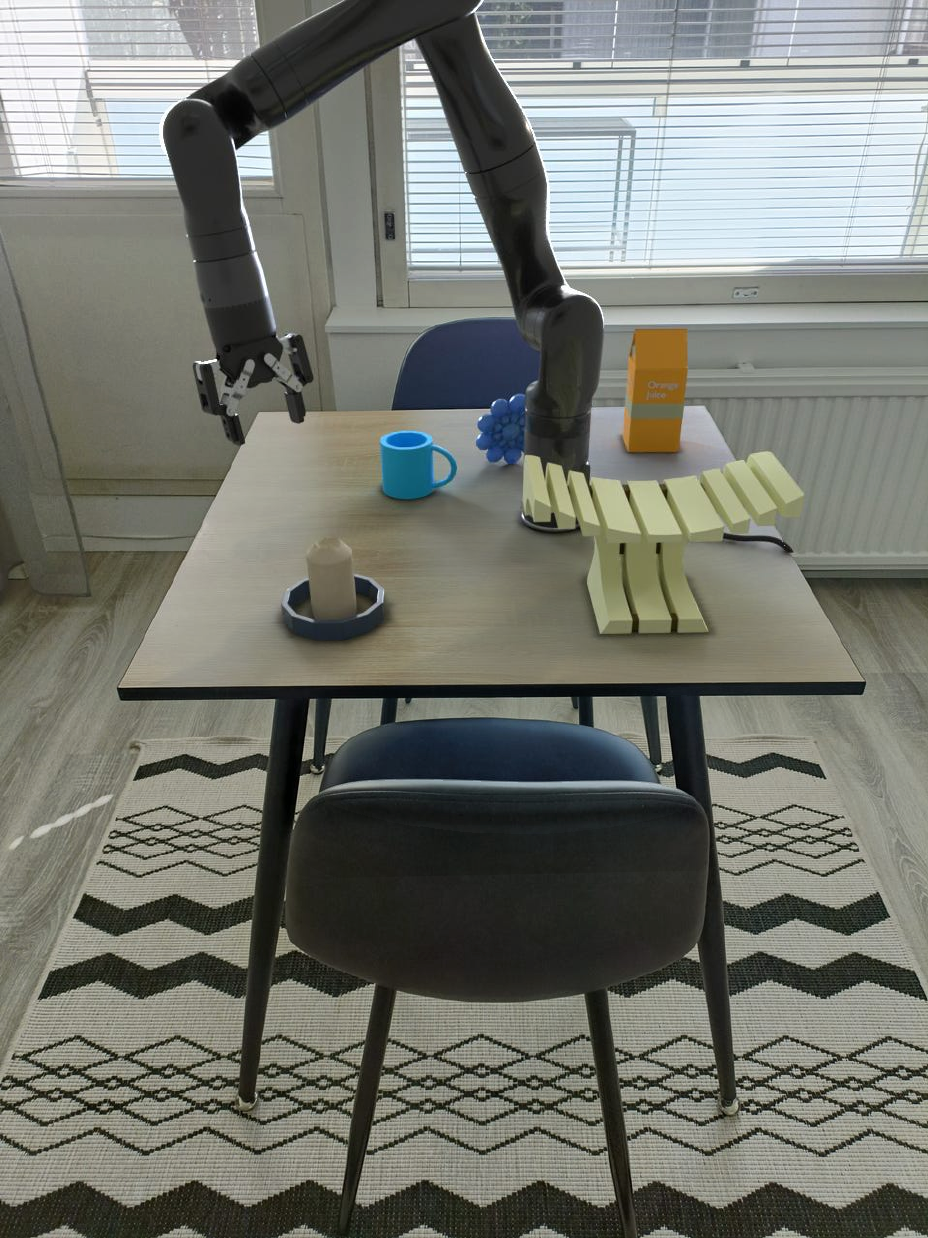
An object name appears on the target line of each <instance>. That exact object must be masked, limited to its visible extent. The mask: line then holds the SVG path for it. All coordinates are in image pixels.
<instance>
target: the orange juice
mask: <svg viewBox="0 0 928 1238" xmlns="http://www.w3.org/2000/svg"><path fill="white" fill-rule="evenodd" d="M688 361H689V359H688V328H635V329H634V333H633V337H632V342H631V346H630V350H629V355H628V362H627V363H628V364H627V377H626V387H625V399H624V412H623V413H624V415H623V425H622V426H623V427H622V439H623V441H624V444H625V445H624V446H625V448H626V451H627V453H673V452H674V453H679V451H680V442H681V434H682V424H683V417H684V409H685V399H686V388H687V382H688V381H687V379H688V374H689V373H688V372H689V366H688V363H689V362H688Z"/></svg>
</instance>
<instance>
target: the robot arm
mask: <svg viewBox="0 0 928 1238" xmlns="http://www.w3.org/2000/svg"><path fill="white" fill-rule="evenodd" d="M483 1H484V0H341V1H338V3H336V4H333V5H332V6H330V7H328V8H325V9H323V10H321V11H319V12H317V13H315V14H314V15H311V16H310V17H308V18H306V19H304V20H302V21H300V22H298V23H297V24H295V25H292V26H291V27H289V28H287V29H286V30H285V31H283V32H280V33H279V34H278V35H276V36H275V37H273V38H271V39H269V40H268V41H267V42H265V43H264V44H263V45H261V46H259V47H258V48H256V49H255V50H254V51H252V52H250V53H249V54H248V55H246V56H245V57H243V58H242V59H241V60H240V61H238V62H237V63H236V64H235V65H233V66H232V68H231V69H230V70H228V71H227V72H226V73H225V74H222V75H221V76H220V77H218V78H216V79H214V80H213V81H210V82H209V83H207V84H205V85H204V86H202V87H200V88H199V89H197V90H195V91H194V92H192V93H191V94H188V95H187V96H185V97H184V98H182V99H180V100H178V101H177V102H175V103H173V104H172V105H171V106H170V107H169V108H168V109H167V110H166V111H165V112H164V114H163V116H162V117H161V119H160V123H159V140H160V145H161V148H162V151H163V152H164V154H165V156H166V157H167V159H168V162H169V164H170V165H169V166H170V168H171V171H172V174H173V179H174V182H175V185H176V189H177V192H178V195H179V198H180V202H181V204H182V218H183V225H184V231H185V235H186V238H187V242H188V245H189V249H190V254H191V257H192V261H193V265H194V270H195V271H194V272H195V278H196V284H197V285H196V286H197V288H198V293H199V300H200V301H201V304H202V307H203V310H204V314H205V318H206V323H207V326H208V329H209V333H210V338H211V341H212V344H213V345H214V346H213V347H214V348H215V359H211V360H208V361H204V362H203V361H202V362H201V361H200V360H198V361H197V360H196V361H194V362H193V363H192V372H193V375H194V379H195V385H196V387H197V388H196V389H197V393H198V399H199V403H200V407H201V411H202V412H203V413H205V414H209V415H212V416H215V417H216V416H219V417H220V420H221V423H222V427H223V431H224V434H225V438H226V439H227V440H228V441H229V442H231V443H232V444H233V445H235V446H237V447H238V446H239V447H240V446H243V445H245V444H246V439H245V435H244V432H243V428H242V424H241V420H240V416H239V414H238V413H237V411H238V407H239V404H240V401H241V399H243V398H244V396H245V393H246V390H247V389H253V388H257V386H259V385H261V384H268V383H271V382H273V381H275V382H276V383H278V385H280V386H281V387H283V389H285V390H286V392H283V394H284V398H285V399H284V400H285V402H286V407H287V412H288V417H289V420H290V421H291V422H292V423H293V424H298V425H300V424H303V423H304V422H305V418H306V415H307V410H306V406H305V401H304V398H303V392H302V391H303V389H304V387H305V386H306V385H307V384H311V383H313V381H314V379H315V378H314V374H313V370H312V366H311V362H310V358H309V356H308V352H307V348H306V345H305V341H304V340H305V339H304V337H303V335H301V334H297V333H292V332H286V333H285V334H284V335H283V337H280V338H279V337H278V334H277V324H276V320H275V319H276V318H275V316H274V311H273V307H272V303H271V298H270V293H269V289H268V286H267V281H266V277H265V272H264V269H263V266H262V264H261V260H260V258H259V255H258V251H257V249H256V245H255V240H254V235H253V232H252V227H251V222H250V218H249V215H248V212H247V209H246V206H245V203H244V199H243V191H242V184H241V183H242V182H241V175H240V170H239V169H240V168H239V162H238V156H237V152H236V151H238V150H239V149H240V148H242V147H243V146H245V145H246V144H248V143H249V142H251V140H253V139H254V138H256V137H257V136H259V135H261V134H262V133H265V132H268V131H271V130H274V129H275V128H277V127H279V126H281V125H283V124H284V123H286V122H288V121H289V120H290V119H293V118H294V117H295V116H297V115H298V114H300V113H301V112H303V111H304V110H305V109H307V108H308V107H310V106H311V105H312V104H314V103H316V102H317V101H319V100H320V99H321V98H323V97H324V96H326V95H327V94H329V93H330V92H332V91H333V90H335V89H336V88H337V87H339V86H340V85H341V84H343V83H344V82H346V81H347V80H349V79H350V78H352V77H353V76H354V75H356V74H357V73H359V72H360V71H362V70H363V69H365V68H366V67H368V66H369V65H371V64H372V63H374V62H375V61H377V60H379V59H380V58H382V57H384V56H386V55H387V54H389V53H390V52H392V51H394V50H395V49H398V48H399V47H401V46H403V45H405V44H407V43H409V42H412V41H413V40H414V41H415V43H416V46H417V47H418V50H419V52H420V54H421V56H422V58H423V60H424V63H425V64H426V67H427V69H428V71H429V73H430V76H431V79H432V81H433V84H434V87H435V90H436V94H437V96H438V99H439V102H440V105H441V108H442V111H443V115H444V117H445V120H446V123H447V127H448V129H449V132H450V134H451V137H452V141H453V143H454V145H455V148H456V151H457V154H458V157H459V160H460V163H461V166H462V169H463V172H464V175H465V178H466V180H467V183H468V185H469V188H470V191H471V194H472V197H473V198H474V201H475V203H476V205H477V208H478V210H479V213H480V215H481V218H482V220H483V223H484V226H485V228H486V231H487V233H488V236H489V239H490V241H491V243H492V246H493V248H494V251H495V253H496V255H497V258H498V260H499V262H500V266H501V268H502V271H503V275H504V278H505V282H506V286H507V289H508V293H509V296H510V301H511V305H512V309H513V313H514V317H515V321H516V325H517V328H518V332H519V333H520V336H521V337H522V339H523V340H524V341H525V343H526V344H527V346H529V347H530V348H531V349H532V350H534V351H535V352H537V353H538V354H539V367H538V368H539V369H538V379H537V380H534V381H533V382H531V383H530V384H529V385H527V387H526V390H525V394H524V395H525V432H524V453H523V460H524V459H525V455H533V456H537V457H540V461H541V465H542V469H543V474H544V478H545V479H546V467H547V463H552V464H556V465H560V466H562V469H563V473H564V477H565V480H566V484H567V482H568V474H569V470H570V471H575V472H580V473H583V474H584V477H585V480H586V483H587V485H590V480H591V464H590V461H589V453H590V437H591V423H592V422H591V421H592V405H593V399H594V397H595V394H596V392H597V390H598V388H599V384H600V378H601V377H600V376H601V370H602V369H601V368H602V360H603V359H602V358H603V351H604V341H605V321H604V316H603V311H602V309H601V306H600V305H599V303H598V302H597V301H596V300H595V299H594V298H593V297H591V296H589V295H588V294H585V293H583V292H581V291H579V290H576V289H574V288H571V287H570V286H569V284H568V283H567V281H566V279H565V277H564V275H563V273H562V270H561V267H560V266H559V264H558V260H557V257H556V255H555V252H554V249H553V245H552V242H551V237H550V225H549V224H550V222H549V221H550V185H549V179H548V175H547V171H546V167H545V164H544V161H543V158H542V154H541V151H540V149H539V145H538V141H537V139H536V135H535V133H534V130H533V128H532V125H531V123H530V121H529V119H528V117H527V115H526V113H525V111H524V109H523V107H522V106H521V104H520V102H519V100H518V99H517V97H516V95H515V94H514V92H513V91H512V89H511V88H510V86H509V84H508V82H507V81H506V80H505V78H504V77H503V75H502V74H501V72H500V69H499V68H498V67H497V65H496V64H495V62H494V60H493V58H492V55H491V54H490V51H489V49H488V47H487V44H486V41H485V38H484V36H483V33H482V29H481V26H480V22H479V19H478V15H477V12H476V11H477V9H478V8H479V7H480V6H481V5H482V3H483ZM283 352H284V353H285V354H287V355H288V357H289V358H288V359H289V362H290V366H291V369H292V372H291V371H290V370H289V369H288V368H287V367H285V366H284V365H283V364H282V363H281V359H282V355H283ZM218 371H220V372H221V373H222V374H223V375H224V377H223V380H222V383H221V386H220V395H219V392H218V388H217V383H216V380H217V378H218ZM519 502H520V503H519V505H520V506H519V509H521V510H522V512H521V521H522V523H524V525H526V526H527V527H528V528H531V529H533V530H536V531H540V532H545V533H565V532H571V531H574V530H577V529H579V528H580V525H579V522H578V519H577V517H576V516H575V517H576V521H575V529H558V525H557V521H556V517H555V514H554V513H551V520H550V522H534V521H533V516H532V514H530V515H526V516H525V511H524V506H523V500H520V501H519ZM723 540H728V541H733V542H746V543H749V542H751V543H753V542H765V543H771V544H775V545H777V546H778V547H780V548H781V549H782V550H784V552H786V553H789V554H793V553H794V550H793V548H792V547H791V546H790V545H789V544H788V543H787V542H786V541H784V540H782V539H780V538H778V537H776V536H772V535H765V534H763V535H762V534H756V535H754V534H751V535H749V534H731V533H728V532H724V533H723ZM782 541H783V542H782ZM784 545H785V546H784Z"/></svg>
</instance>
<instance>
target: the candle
mask: <svg viewBox="0 0 928 1238" xmlns="http://www.w3.org/2000/svg"><path fill="white" fill-rule="evenodd" d="M353 556H354V555H353V550H352V548H351V547H350V546H348V545H347V544H346V543H345V542H344V541H342V540H341V539H339V538H338V537H335V536H333V537H324V538H322V539H321V540H316V541H314V543H313V544H312V545H311V546H310V548H309V549H308V550H307V552H306V553H305V557H306V566H307V575H308V578H309V586H310V595H311V597H310V603H311V611H312V616H313V619H314V620H342V619H345V618H349V617H352V616H355V615H357V611H358V610H357V595H356V594H357V593H355V581H354V574H355V570H354V557H353Z"/></svg>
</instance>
